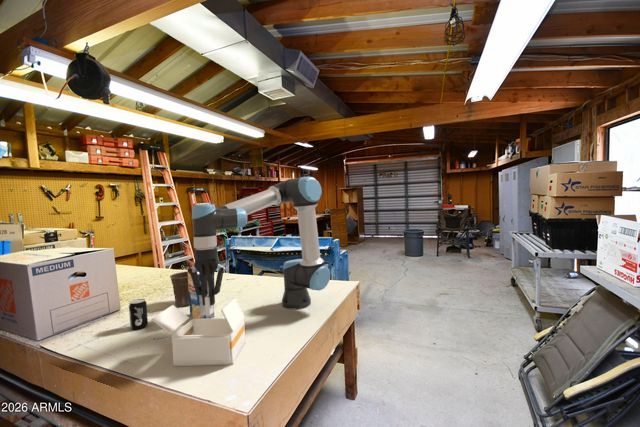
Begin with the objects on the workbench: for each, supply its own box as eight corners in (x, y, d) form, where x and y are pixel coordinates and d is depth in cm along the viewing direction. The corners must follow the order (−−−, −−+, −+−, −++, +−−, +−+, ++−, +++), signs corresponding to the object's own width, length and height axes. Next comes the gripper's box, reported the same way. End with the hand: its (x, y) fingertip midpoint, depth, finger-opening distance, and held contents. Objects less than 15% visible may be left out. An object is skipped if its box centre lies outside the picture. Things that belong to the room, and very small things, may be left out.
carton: (246, 342, 107) (244, 316, 107) (232, 366, 92) (230, 336, 91) (194, 343, 108) (192, 318, 107) (171, 367, 92) (170, 337, 92)
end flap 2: (244, 316, 105) (234, 297, 105) (233, 331, 93) (222, 309, 93) (243, 316, 105) (233, 297, 105) (231, 331, 93) (221, 310, 93)
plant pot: (190, 296, 166) (189, 269, 165) (210, 299, 159) (208, 271, 158) (165, 306, 151) (163, 276, 150) (185, 310, 144) (183, 279, 143)
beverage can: (151, 324, 127) (149, 298, 127) (137, 331, 121) (135, 304, 120) (140, 323, 129) (139, 297, 129) (126, 329, 123) (125, 302, 123)
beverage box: (200, 321, 128) (197, 274, 127) (190, 316, 135) (187, 271, 135) (214, 317, 133) (212, 271, 132) (203, 311, 141) (201, 268, 140)
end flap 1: (189, 317, 106) (172, 304, 106) (171, 333, 93) (152, 318, 93) (188, 318, 106) (171, 305, 106) (170, 334, 93) (151, 319, 93)
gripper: (227, 245, 102) (231, 309, 103) (192, 246, 102) (196, 310, 103) (219, 249, 94) (223, 317, 95) (181, 250, 95) (186, 318, 96)
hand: (209, 313), depth 99 cm, fingers closed
